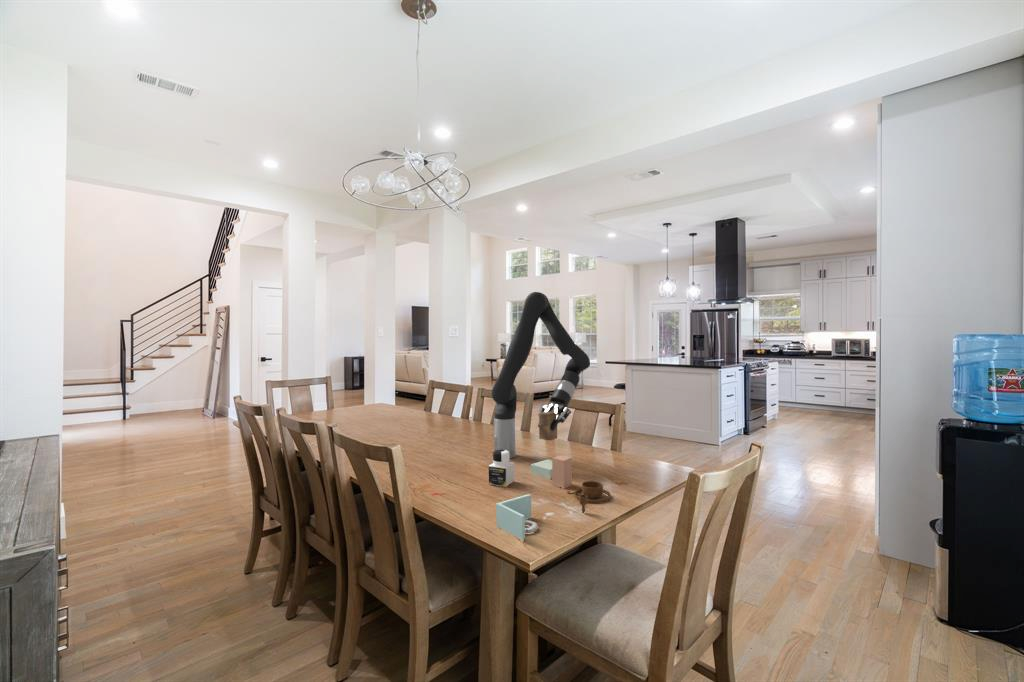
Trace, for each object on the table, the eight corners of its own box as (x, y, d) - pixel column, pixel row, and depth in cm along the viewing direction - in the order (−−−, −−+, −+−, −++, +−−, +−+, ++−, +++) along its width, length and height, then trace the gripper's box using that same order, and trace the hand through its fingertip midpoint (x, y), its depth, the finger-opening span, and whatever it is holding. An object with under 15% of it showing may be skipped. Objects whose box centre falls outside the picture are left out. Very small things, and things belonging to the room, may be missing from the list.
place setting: (625, 501, 153) (625, 483, 153) (585, 518, 140) (585, 498, 140) (584, 488, 166) (584, 471, 166) (544, 502, 153) (544, 484, 153)
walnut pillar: (539, 438, 181) (539, 413, 181) (547, 436, 185) (546, 411, 185) (549, 440, 178) (549, 414, 178) (557, 438, 182) (557, 412, 181)
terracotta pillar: (552, 485, 167) (552, 458, 167) (560, 482, 171) (560, 455, 171) (564, 488, 164) (563, 460, 164) (571, 485, 168) (571, 457, 168)
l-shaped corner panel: (522, 544, 123) (522, 516, 123) (496, 529, 133) (496, 503, 133) (556, 532, 130) (555, 505, 130) (529, 518, 140) (528, 494, 140)
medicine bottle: (488, 484, 169) (487, 452, 169) (497, 479, 176) (496, 447, 176) (506, 487, 166) (505, 454, 166) (514, 481, 173) (514, 449, 172)
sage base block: (530, 474, 182) (530, 464, 182) (547, 469, 189) (547, 459, 189) (550, 480, 175) (549, 469, 175) (567, 474, 182) (566, 464, 181)
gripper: (544, 387, 191) (526, 420, 183) (574, 389, 182) (556, 425, 173) (552, 398, 195) (535, 431, 187) (581, 401, 186) (564, 437, 177)
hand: (545, 428), depth 180 cm, fingers closed on walnut pillar, 5 cm apart
